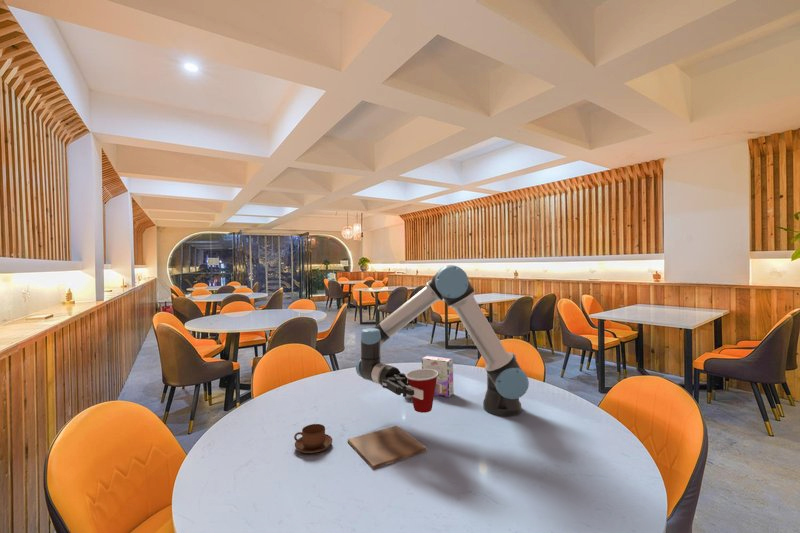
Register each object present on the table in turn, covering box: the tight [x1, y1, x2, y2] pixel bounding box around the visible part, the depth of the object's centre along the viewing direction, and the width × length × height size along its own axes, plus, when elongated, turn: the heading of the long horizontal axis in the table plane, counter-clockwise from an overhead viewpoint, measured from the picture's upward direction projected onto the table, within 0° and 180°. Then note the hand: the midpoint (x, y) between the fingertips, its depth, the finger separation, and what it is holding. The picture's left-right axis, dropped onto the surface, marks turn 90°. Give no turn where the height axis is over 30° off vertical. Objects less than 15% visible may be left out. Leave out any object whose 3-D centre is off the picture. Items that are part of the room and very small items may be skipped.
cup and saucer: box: [294, 423, 333, 454], centre depth 116 cm, size 12×12×6 cm
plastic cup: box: [406, 368, 438, 414], centre depth 115 cm, size 11×11×12 cm
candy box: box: [421, 355, 455, 398], centre depth 164 cm, size 14×6×16 cm, turn 58°
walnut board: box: [347, 425, 427, 470], centre depth 115 cm, size 19×19×1 cm
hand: (431, 392), depth 111 cm, fingers closed on plastic cup, 8 cm apart
